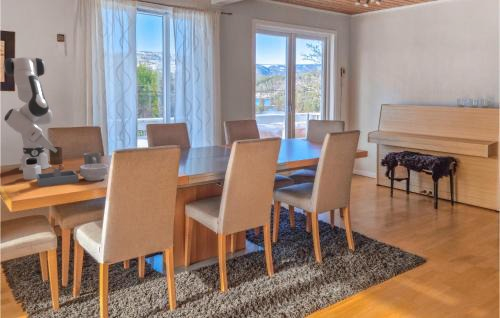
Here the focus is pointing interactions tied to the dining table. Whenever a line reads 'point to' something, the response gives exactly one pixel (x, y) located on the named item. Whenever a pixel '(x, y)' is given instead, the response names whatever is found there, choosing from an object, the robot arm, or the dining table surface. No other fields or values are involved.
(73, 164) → the dining table surface
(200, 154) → the dining table surface
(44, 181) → the tray
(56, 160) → the sleeve
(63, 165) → the ball
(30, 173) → the medicine bottle
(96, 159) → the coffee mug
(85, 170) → the paper bowls
